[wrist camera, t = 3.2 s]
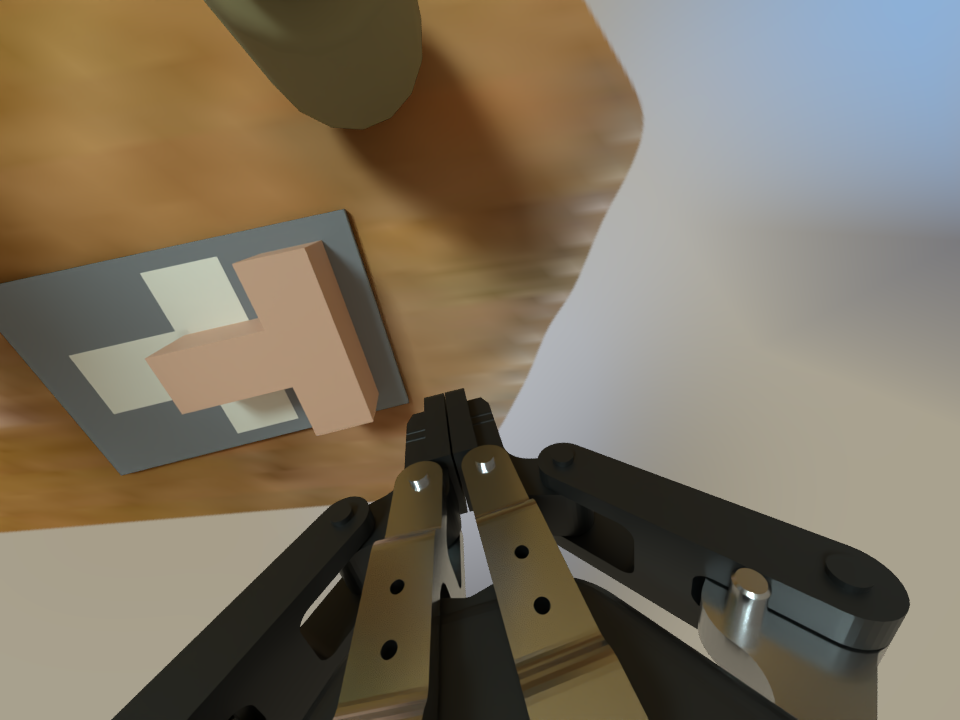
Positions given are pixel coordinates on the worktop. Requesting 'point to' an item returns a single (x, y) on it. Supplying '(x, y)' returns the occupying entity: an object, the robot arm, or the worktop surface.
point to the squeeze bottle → (332, 53)
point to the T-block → (278, 346)
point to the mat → (160, 321)
